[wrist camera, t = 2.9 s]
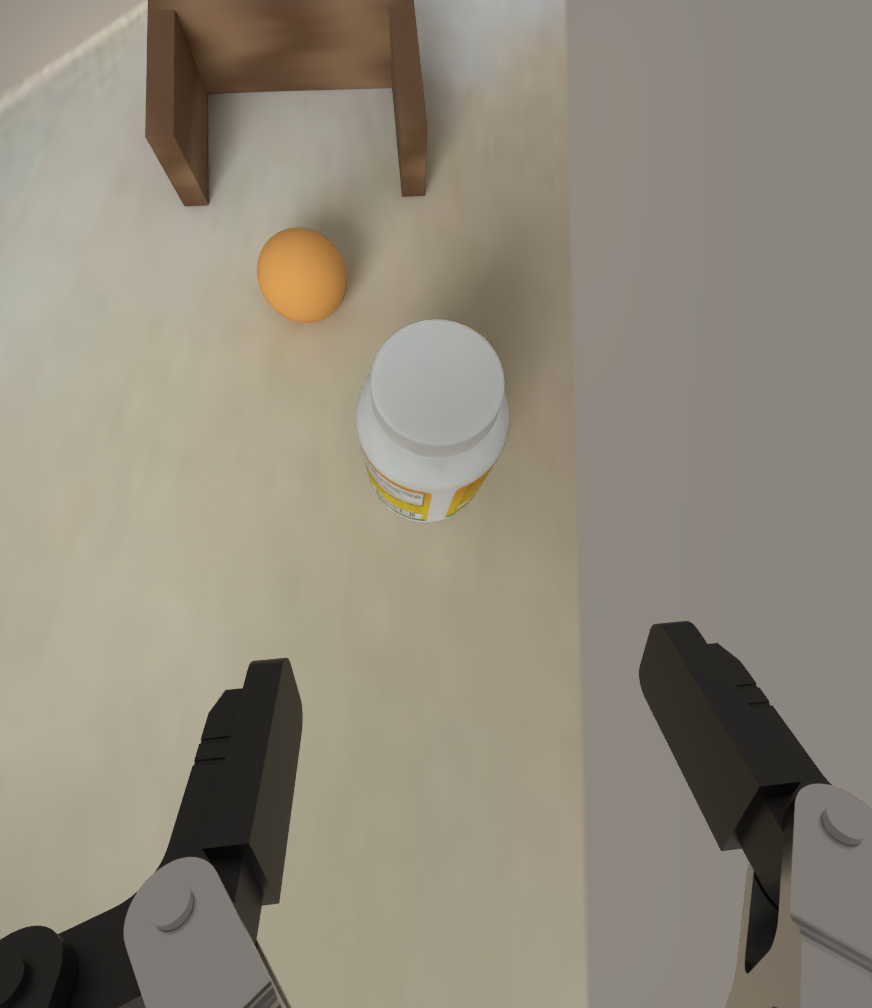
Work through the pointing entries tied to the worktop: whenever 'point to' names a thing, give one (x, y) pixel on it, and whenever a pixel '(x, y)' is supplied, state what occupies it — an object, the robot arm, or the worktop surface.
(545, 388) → the worktop surface
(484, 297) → the worktop surface
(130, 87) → the worktop surface
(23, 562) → the worktop surface
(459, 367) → the supplement bottle
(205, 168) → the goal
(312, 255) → the ball
